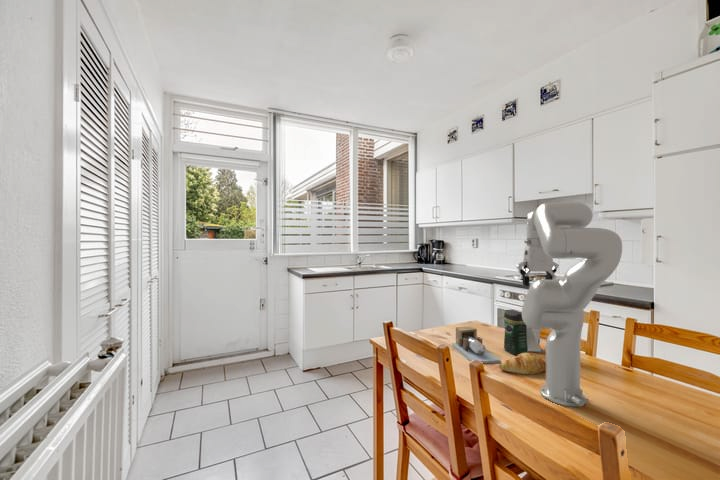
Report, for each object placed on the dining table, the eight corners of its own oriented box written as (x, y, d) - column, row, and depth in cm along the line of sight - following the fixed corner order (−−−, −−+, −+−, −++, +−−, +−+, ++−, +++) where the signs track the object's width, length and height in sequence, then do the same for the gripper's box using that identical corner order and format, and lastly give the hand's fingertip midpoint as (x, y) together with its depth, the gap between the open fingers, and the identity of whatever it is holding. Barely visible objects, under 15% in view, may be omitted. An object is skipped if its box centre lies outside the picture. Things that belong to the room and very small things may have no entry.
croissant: (502, 383, 122) (507, 368, 118) (491, 361, 131) (495, 347, 127) (556, 379, 123) (562, 365, 119) (541, 358, 132) (547, 344, 128)
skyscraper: (546, 353, 141) (546, 290, 140) (526, 353, 142) (526, 290, 142) (538, 347, 149) (539, 287, 149) (520, 346, 151) (520, 287, 150)
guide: (482, 350, 143) (482, 339, 143) (465, 351, 143) (465, 340, 142) (479, 347, 146) (479, 337, 146) (462, 348, 146) (462, 337, 145)
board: (500, 362, 132) (500, 360, 132) (472, 364, 131) (472, 361, 131) (476, 344, 154) (476, 342, 154) (452, 345, 153) (451, 343, 153)
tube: (485, 354, 137) (485, 343, 137) (474, 355, 137) (474, 343, 137) (471, 343, 151) (471, 333, 151) (461, 344, 151) (461, 333, 151)
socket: (476, 345, 149) (476, 329, 149) (459, 346, 149) (459, 329, 148) (472, 342, 154) (472, 326, 153) (455, 343, 153) (455, 327, 153)
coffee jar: (531, 354, 140) (531, 312, 140) (515, 356, 138) (515, 313, 138) (515, 347, 150) (515, 307, 149) (500, 348, 148) (500, 308, 147)
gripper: (522, 243, 123) (522, 287, 124) (564, 242, 125) (564, 286, 126) (511, 242, 131) (511, 284, 131) (551, 242, 133) (551, 283, 133)
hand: (537, 285), depth 128 cm, fingers open, 9 cm apart
